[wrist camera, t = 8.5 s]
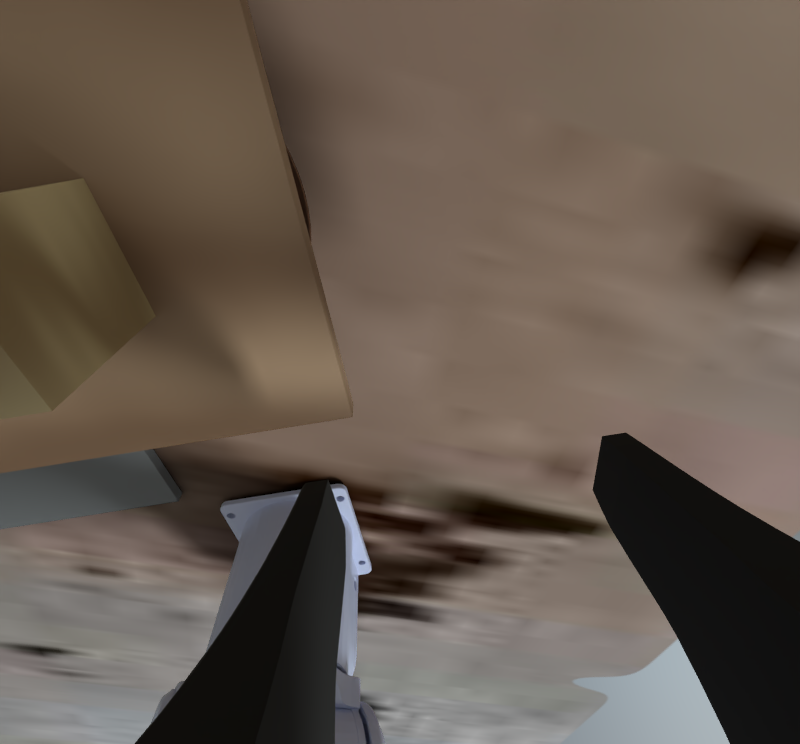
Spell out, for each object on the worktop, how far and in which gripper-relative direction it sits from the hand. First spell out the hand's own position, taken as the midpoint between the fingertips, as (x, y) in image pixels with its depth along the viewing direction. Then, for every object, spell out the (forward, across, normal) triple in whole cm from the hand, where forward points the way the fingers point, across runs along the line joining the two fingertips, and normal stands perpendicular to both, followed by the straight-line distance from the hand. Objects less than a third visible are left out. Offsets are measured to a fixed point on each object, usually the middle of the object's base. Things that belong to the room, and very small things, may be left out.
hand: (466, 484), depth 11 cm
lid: (+4, +10, -6) cm, 13 cm away
